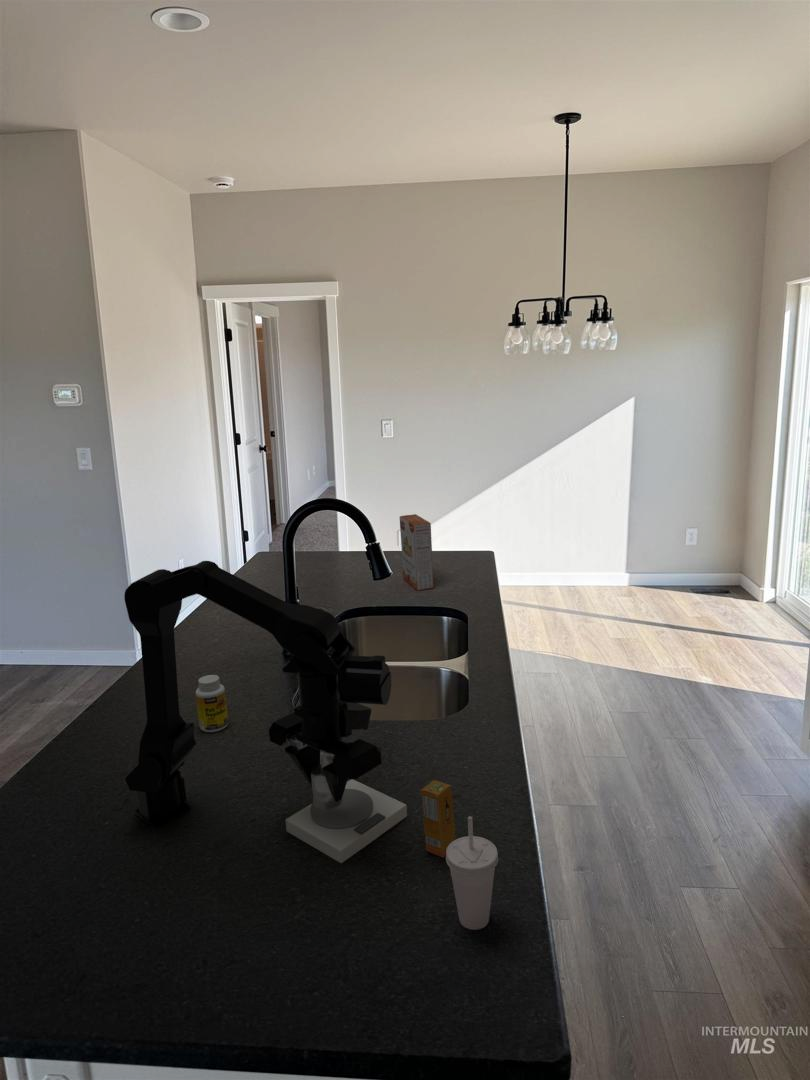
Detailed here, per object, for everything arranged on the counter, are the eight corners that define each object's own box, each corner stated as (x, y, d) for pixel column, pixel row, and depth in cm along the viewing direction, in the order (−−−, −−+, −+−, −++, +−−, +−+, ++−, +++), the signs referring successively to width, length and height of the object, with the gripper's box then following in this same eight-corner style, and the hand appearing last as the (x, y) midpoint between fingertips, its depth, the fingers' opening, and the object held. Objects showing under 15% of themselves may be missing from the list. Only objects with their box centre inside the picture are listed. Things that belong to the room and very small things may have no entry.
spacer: (349, 799, 112) (346, 769, 111) (327, 812, 109) (324, 782, 108) (329, 789, 115) (326, 759, 114) (307, 802, 112) (304, 772, 111)
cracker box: (402, 579, 239) (398, 515, 234) (419, 577, 241) (416, 513, 236) (415, 591, 226) (412, 524, 221) (434, 588, 227) (431, 521, 223)
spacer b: (331, 785, 125) (329, 758, 124) (314, 776, 128) (311, 750, 127) (350, 774, 128) (348, 747, 127) (333, 765, 131) (331, 740, 130)
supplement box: (437, 838, 110) (434, 777, 107) (456, 847, 107) (454, 785, 105) (423, 850, 107) (420, 788, 105) (442, 859, 105) (439, 796, 103)
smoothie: (495, 899, 97) (493, 803, 94) (503, 936, 91) (501, 835, 87) (446, 902, 97) (442, 806, 93) (451, 939, 90) (446, 838, 87)
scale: (341, 863, 105) (339, 847, 105) (286, 831, 113) (285, 816, 113) (407, 816, 115) (406, 801, 115) (352, 789, 123) (351, 775, 123)
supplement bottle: (205, 736, 144) (199, 687, 141) (196, 725, 148) (189, 678, 146) (233, 727, 147) (227, 679, 144) (223, 717, 151) (217, 670, 149)
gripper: (404, 695, 108) (409, 792, 111) (318, 665, 120) (325, 753, 124) (349, 725, 100) (356, 828, 103) (262, 689, 112) (272, 782, 116)
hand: (327, 794), depth 112 cm, fingers closed on spacer, 4 cm apart
